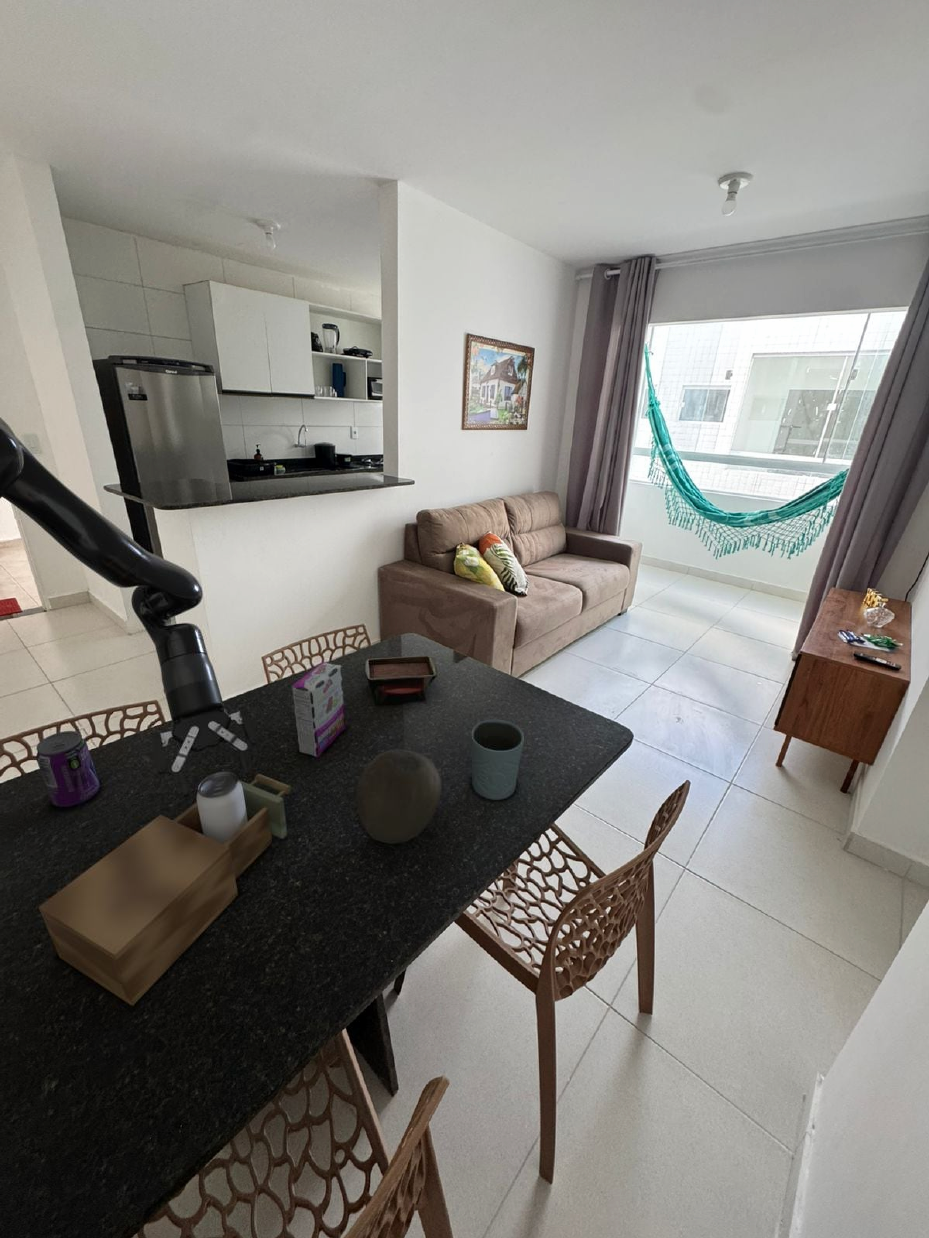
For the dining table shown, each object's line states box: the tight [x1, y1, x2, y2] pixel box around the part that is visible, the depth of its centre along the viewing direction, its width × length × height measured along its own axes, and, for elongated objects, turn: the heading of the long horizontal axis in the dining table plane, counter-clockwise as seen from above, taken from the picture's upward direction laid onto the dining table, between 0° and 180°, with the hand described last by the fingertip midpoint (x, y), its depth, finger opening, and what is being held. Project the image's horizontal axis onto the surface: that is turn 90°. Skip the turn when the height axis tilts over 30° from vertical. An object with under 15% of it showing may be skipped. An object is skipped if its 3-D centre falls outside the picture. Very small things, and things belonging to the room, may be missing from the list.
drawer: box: [172, 773, 292, 881], centre depth 82 cm, size 20×13×8 cm, turn 157°
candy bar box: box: [291, 661, 347, 758], centre depth 108 cm, size 11×5×16 cm, turn 161°
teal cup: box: [470, 719, 525, 801], centre depth 99 cm, size 10×10×12 cm
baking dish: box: [363, 654, 438, 706], centre depth 129 cm, size 14×18×10 cm
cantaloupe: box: [355, 748, 443, 845], centre depth 87 cm, size 14×14×15 cm
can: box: [196, 771, 248, 844], centre depth 80 cm, size 6×6×12 cm
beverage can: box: [35, 730, 100, 808], centre depth 90 cm, size 7×7×12 cm
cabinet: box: [38, 814, 239, 1007], centre depth 70 cm, size 17×14×10 cm
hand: (217, 785), depth 78 cm, fingers open, 8 cm apart
